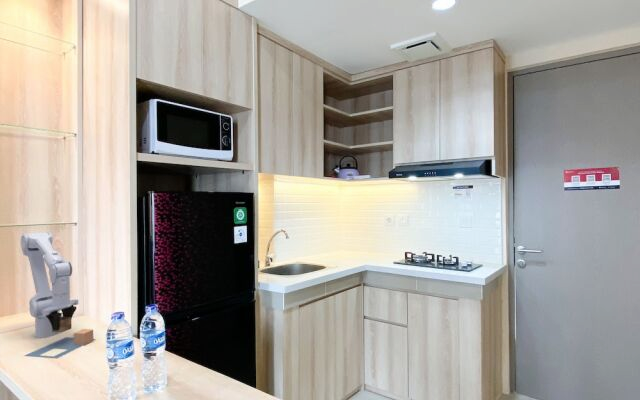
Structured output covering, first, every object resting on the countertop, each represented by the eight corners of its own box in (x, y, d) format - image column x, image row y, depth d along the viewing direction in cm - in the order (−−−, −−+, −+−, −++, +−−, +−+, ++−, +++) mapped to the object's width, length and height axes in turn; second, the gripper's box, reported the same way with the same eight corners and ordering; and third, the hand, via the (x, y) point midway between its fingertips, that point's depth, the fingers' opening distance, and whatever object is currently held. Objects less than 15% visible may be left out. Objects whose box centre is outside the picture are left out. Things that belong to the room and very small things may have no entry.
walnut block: (61, 327, 149) (61, 316, 149) (71, 328, 148) (71, 317, 148) (51, 331, 145) (51, 320, 145) (61, 332, 144) (61, 320, 144)
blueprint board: (66, 339, 152) (66, 336, 152) (96, 341, 150) (96, 338, 150) (23, 358, 134) (23, 355, 134) (57, 360, 132) (57, 358, 132)
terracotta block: (83, 340, 149) (83, 328, 149) (93, 340, 148) (93, 329, 148) (74, 344, 144) (73, 333, 144) (84, 345, 143) (84, 333, 143)
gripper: (53, 298, 139) (54, 335, 139) (84, 289, 153) (85, 322, 153) (37, 298, 140) (37, 334, 140) (69, 288, 154) (70, 321, 154)
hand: (61, 327), depth 147 cm, fingers closed on walnut block, 4 cm apart
